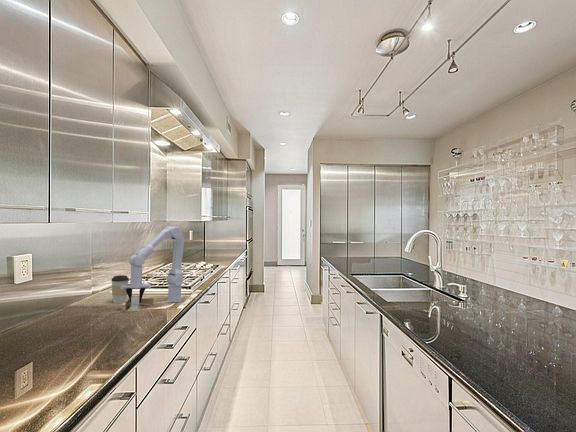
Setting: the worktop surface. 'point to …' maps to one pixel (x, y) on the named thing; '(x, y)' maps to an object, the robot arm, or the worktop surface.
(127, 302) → the wooden corner frame
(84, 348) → the worktop surface
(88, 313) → the worktop surface
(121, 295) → the coffee cup
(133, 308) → the block
